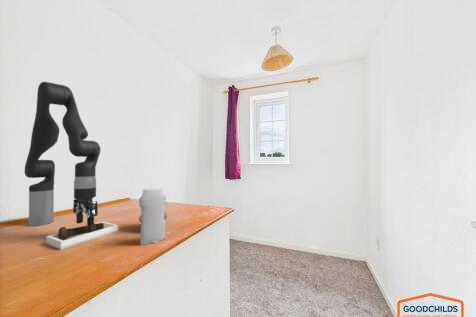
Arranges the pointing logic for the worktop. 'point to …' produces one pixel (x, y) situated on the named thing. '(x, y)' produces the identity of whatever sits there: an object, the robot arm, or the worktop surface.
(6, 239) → the worktop surface
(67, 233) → the bolt
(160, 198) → the tall pale column
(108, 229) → the parts tray
